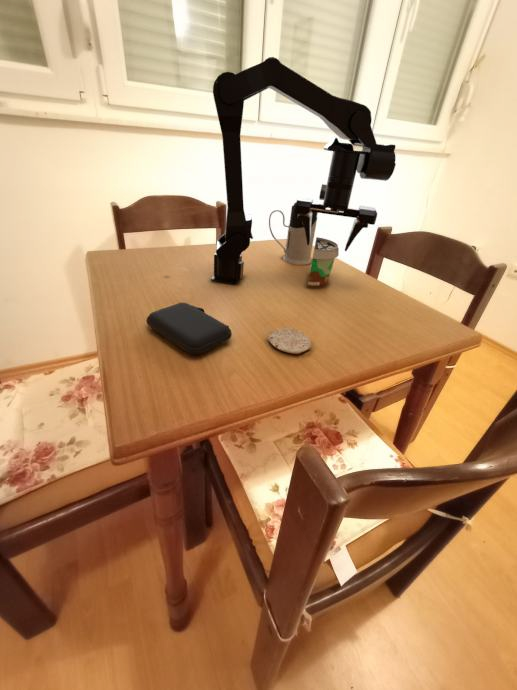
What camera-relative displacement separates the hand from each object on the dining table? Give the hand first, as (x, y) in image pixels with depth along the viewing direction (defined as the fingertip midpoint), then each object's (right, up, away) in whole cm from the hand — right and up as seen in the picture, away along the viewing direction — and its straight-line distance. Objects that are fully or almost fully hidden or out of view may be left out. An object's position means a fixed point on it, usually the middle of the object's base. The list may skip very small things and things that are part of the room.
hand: (326, 247), depth 77 cm
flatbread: (-11, -24, -20) cm, 33 cm away
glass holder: (-8, +2, +19) cm, 21 cm away
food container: (-1, -8, +5) cm, 9 cm away
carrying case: (-29, -22, -20) cm, 42 cm away
